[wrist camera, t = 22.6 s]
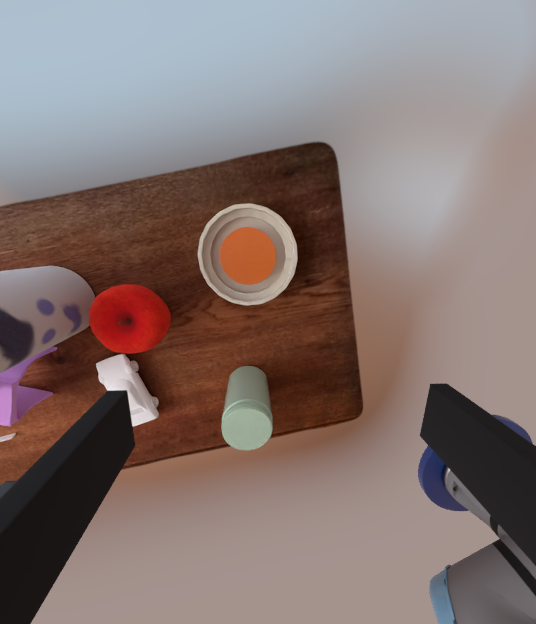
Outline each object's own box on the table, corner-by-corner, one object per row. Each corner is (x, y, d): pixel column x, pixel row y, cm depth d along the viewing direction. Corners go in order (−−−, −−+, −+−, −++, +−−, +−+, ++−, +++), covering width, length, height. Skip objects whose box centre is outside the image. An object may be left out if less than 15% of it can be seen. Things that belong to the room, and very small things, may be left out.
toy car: (130, 347, 38) (119, 357, 35) (165, 410, 41) (158, 424, 38) (97, 359, 38) (83, 370, 35) (134, 420, 41) (124, 436, 38)
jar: (275, 376, 41) (283, 420, 31) (255, 406, 42) (257, 458, 32) (240, 358, 40) (236, 398, 29) (220, 390, 41) (210, 439, 31)
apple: (189, 298, 36) (174, 312, 29) (163, 346, 38) (142, 371, 31) (131, 266, 35) (98, 273, 27) (106, 318, 36) (69, 338, 29)
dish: (310, 239, 35) (315, 239, 33) (264, 315, 38) (266, 321, 35) (229, 187, 33) (228, 182, 30) (186, 272, 35) (181, 275, 33)
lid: (245, 215, 34) (245, 213, 32) (286, 253, 35) (288, 253, 33) (210, 258, 35) (207, 259, 33) (251, 293, 36) (251, 295, 35)
